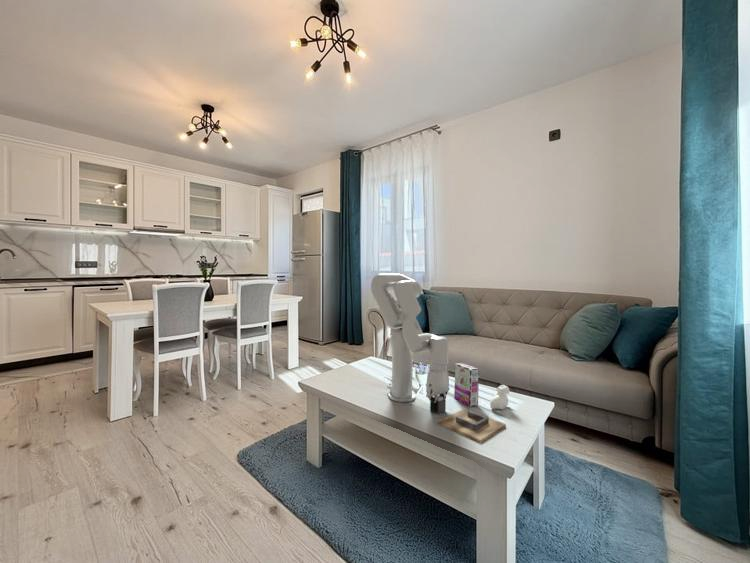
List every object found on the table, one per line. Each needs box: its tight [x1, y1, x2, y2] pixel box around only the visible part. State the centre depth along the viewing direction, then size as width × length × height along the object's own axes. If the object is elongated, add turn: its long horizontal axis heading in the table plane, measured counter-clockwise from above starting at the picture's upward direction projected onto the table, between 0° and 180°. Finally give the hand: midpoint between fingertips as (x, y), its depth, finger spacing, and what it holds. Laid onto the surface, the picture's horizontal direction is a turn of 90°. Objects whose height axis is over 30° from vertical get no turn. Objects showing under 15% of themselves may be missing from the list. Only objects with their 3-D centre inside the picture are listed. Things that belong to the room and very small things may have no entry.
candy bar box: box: [453, 362, 480, 408], centre depth 142 cm, size 11×5×16 cm, turn 23°
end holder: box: [437, 408, 507, 444], centre depth 119 cm, size 18×18×3 cm
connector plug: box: [429, 395, 447, 415], centre depth 131 cm, size 4×4×6 cm
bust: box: [489, 384, 510, 410], centre depth 135 cm, size 12×8×11 cm
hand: (437, 408), depth 131 cm, fingers closed on connector plug, 4 cm apart
